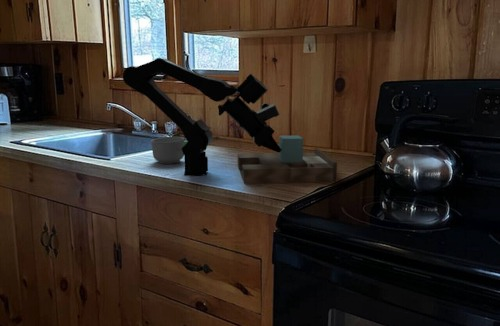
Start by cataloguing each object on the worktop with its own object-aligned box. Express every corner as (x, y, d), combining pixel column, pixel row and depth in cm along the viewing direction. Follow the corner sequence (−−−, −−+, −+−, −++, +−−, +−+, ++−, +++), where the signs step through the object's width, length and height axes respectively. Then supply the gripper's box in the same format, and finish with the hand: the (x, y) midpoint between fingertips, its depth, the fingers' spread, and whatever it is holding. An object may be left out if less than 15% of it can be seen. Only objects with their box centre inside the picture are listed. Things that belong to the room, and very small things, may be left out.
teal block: (282, 162, 136) (282, 138, 135) (278, 158, 142) (279, 135, 141) (302, 162, 137) (303, 138, 136) (298, 158, 143) (298, 135, 141)
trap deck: (244, 183, 128) (244, 164, 127) (237, 166, 150) (237, 149, 148) (336, 181, 131) (337, 162, 130) (316, 164, 152) (317, 148, 151)
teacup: (183, 165, 150) (182, 141, 149) (149, 165, 150) (148, 141, 148) (186, 157, 164) (186, 134, 162) (155, 157, 163) (154, 134, 162)
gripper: (266, 97, 125) (306, 136, 129) (258, 92, 144) (293, 127, 147) (237, 126, 126) (277, 165, 130) (233, 118, 144) (268, 152, 148)
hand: (280, 151), depth 139 cm, fingers closed, pressing on teal block
